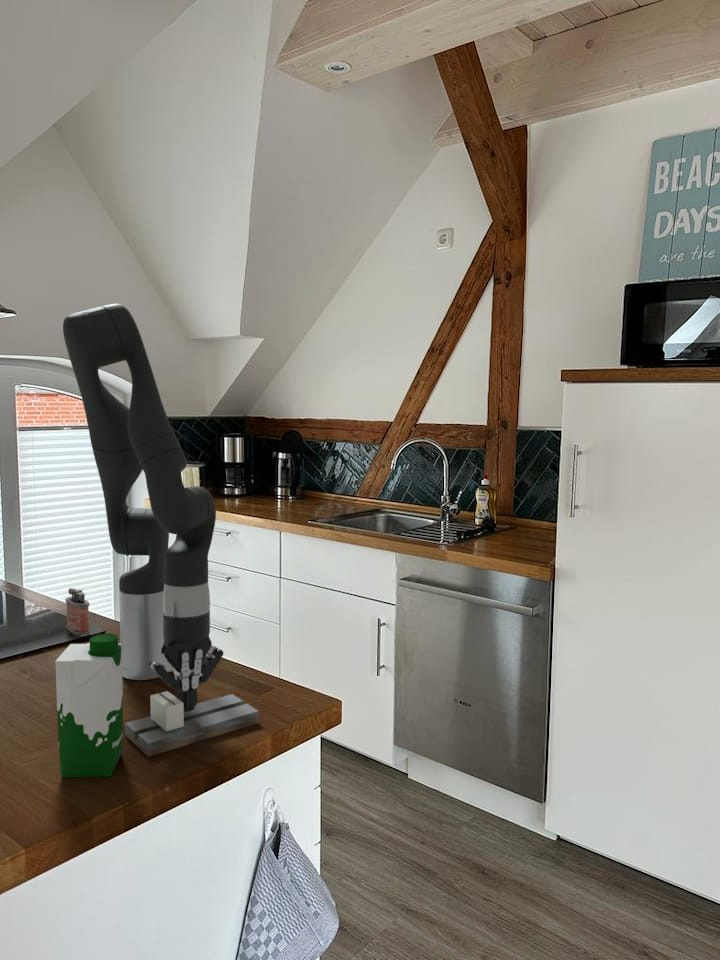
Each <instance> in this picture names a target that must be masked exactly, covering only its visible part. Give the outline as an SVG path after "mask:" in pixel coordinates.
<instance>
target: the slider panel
mask: <svg viewBox="0 0 720 960" xmlns="http://www.w3.org/2000/svg"><path fill="white" fill-rule="evenodd" d="M259 712H260V711H259V710H258V709H257V708H255V707H253V706H252V705H250V704H249V703H244V700H242V699H241V698H240V697H237V696H236V695H235V694H233V693H231V694H227V695H224V696H220V697H217V698H212V699H209V700H204V701H201V702H197V704H196V706H194V710H191V711H187V712H185V711H184V727H180V728H177V729H173V730H170V731H165V730H164V729H163V728H162V727H160V726H159V725H158V724H157V723H156V722H154V721H153V720H152V719H151V715H149V716H146V717H142V718H138V719H134V720H131V721H128V722H125V723H124V728H125V729H124V730H125V731H124V732H125V733H124V734H125V737H126V738H127V739H128V740H129V739H130V742H132V743H133V744H134V745H135V746H136V747H137V748H138V749H139V750H140V751H141V752H142V753H143V754H144V755H145V756H146V757H148V758H149V757H152V756H155V755H159V754H162V753H165V752H168V751H172V750H176V749H178V748H182V747H184V746H189V745H191V743H192V744H194V742H195V743H197V742H200V741H201V740H202V741H204V739H205V740H208V739H211V738H214V737H218V736H221V735H224V734H228V733H231V732H234V731H237V730H241V729H244V728H247V727H250V726H253V725H256V724H260V723H259V722H260V721H259V716H260V715H259ZM207 738H208V739H207Z"/></svg>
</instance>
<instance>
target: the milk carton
mask: <svg viewBox="0 0 720 960" xmlns="http://www.w3.org/2000/svg"><path fill="white" fill-rule="evenodd" d="M54 662H55V663H54V664H55V684H56V688H55V690H56V715H57V716H56V720H57V721H56V723H57V744H58V746H57V747H58V753H59V754H58V755H59V765H60V766H59V767H60V773H61V777H60V778H65V779H67V778H101V777H102V778H103V777H104V778H105V777H107V778H108V777H112V775H113V773H114V770H115V768H116V766H117V764H118V762H119V760H120V758H121V755H122V753H123V752H122V751H123V750H122V749H123V738H124V737H123V736H124V695H123V687H124V686H123V676H122V643H120V642H119V637H118V635H117V634H113V633H101V634H96V635H95V634H94V635H93V636H91V637H90V638H89V642H86V643H70V644H69V645H68V646H67V647H66V649H65V650H64V651H63V652H62V653H61V654H60V655H59V657H57V658H56V660H55V661H54Z"/></svg>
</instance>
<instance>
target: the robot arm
mask: <svg viewBox="0 0 720 960" xmlns="http://www.w3.org/2000/svg"><path fill="white" fill-rule="evenodd" d="M62 332H63V338H64V343H65V347H66V349H67V354H68V357H69V361H70V363H71V366H72V370H73V373H74V377H75V379H76V382H77V386H78V389H79V393H80V397H81V399H82V404H83V407H84V408H83V409H84V414H85V418H86V422H87V429H88V433H89V439H90V443H91V449H92V453H93V456H94V461H95V465H96V467H97V472H98V475H99V479H100V483H101V488H102V494H103V498H104V506H105V512H106V521H107V522H106V523H107V527H108V528H107V529H108V535H109V541H110V544H111V546H112V549H113V550H114V552H115V553H116V554H118V555H123V556H147V557H148V560H147V561H148V562H147V563H145V564H144V565H142V566H141V567H139V568H135V569H132V570H129V571H126V572H124V573H123V574H122V575H120V577H119V581H118V589H119V591H118V592H119V635H120V636H119V638H120V639H119V640H120V641H119V643H122V678H124V679H127V680H132V681H145V680H146V681H147V680H154V679H157V678H159V679H161V680H162V682H163V683H164V684H165V685H166V686H168V687H170V688H171V689H172V690H174V691H177V699H179V700H180V701H182V702H183V703H184V711H185V712H187V711H191V710H194V706H196V704H197V703H198V688H199V685H201V684H202V683H206V682H208V680H209V679H210V677H211V675H212V674H213V672H214V670H215V669H216V667H217V666H218V664H219V662H220V661H221V659H222V657H223V656H224V651H223V650H222V649H220V648H219V647H217V646H215V645H212V643H213V642H212V640H211V638H210V633H211V595H210V588H209V587H210V586H209V585H210V584H209V558H208V556H209V552H210V548H211V544H212V540H213V536H214V530H215V525H216V519H217V515H216V513H217V508H216V504H215V501H214V498H213V495H212V494H211V493H210V491H208V489H206V488H204V487H202V486H198V485H191V486H187V487H185V486H184V482H183V479H182V475H181V473H182V472H183V471H184V470H185V469H186V467H187V465H188V462H187V458H186V456H185V453H184V451H183V449H182V447H181V445H180V443H179V442H180V441H179V440H178V437H177V436H176V434H175V431H174V429H173V427H172V425H171V423H170V420H169V417H168V416H167V412H166V410H165V407H164V404H163V402H162V398H161V395H160V392H159V389H158V385H157V383H156V379H155V376H154V372H153V369H152V366H151V363H150V360H149V357H148V353H147V350H146V348H145V344H144V342H143V339H142V335H141V333H140V330H139V328H138V325H137V323H136V321H135V319H134V317H133V315H132V313H131V312H130V311H129V309H128V308H127V307H126V306H125V305H123V304H121V303H112V304H111V303H110V304H107V305H103V306H102V305H101V306H98V307H94V308H90V309H86V310H83V311H78V312H74V313H72V314H68V315H67V316H66V317H65V318H64V320H63V323H62ZM123 361H124V362H126V364H127V366H128V370H129V372H130V376H131V396H130V401H129V402H130V404H129V407H128V406H127V405H125V404H124V403H123V402H121V401H120V400H119V399H118V398H116V396H114V395H113V394H112V393H111V392H110V391H109V389H108V388H107V387H106V386H105V385H104V384H103V382H102V380H101V379H100V374H99V369H100V368H103V367H107V366H110V365H113V364H117V363H120V362H123ZM142 472H143V473H144V475H145V476H144V477H145V482H146V489H147V493H148V498H149V503H150V508H142V507H141V508H135V507H134V508H133V507H131V508H130V507H129V506H128V503H127V498H128V495H129V493H130V491H131V489H132V488H133V486H134V484H135V483H136V482H137V480H138V478H139V477H140V475H141V473H142ZM170 534H171V535H176V537H175V539H174V541H173V543H172V544H171V546H169V541H170V540H169V539H170ZM170 672H173V673H174V677H173V676H172V675H171V674H170Z"/></svg>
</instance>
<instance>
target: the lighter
mask: <svg viewBox="0 0 720 960" xmlns="http://www.w3.org/2000/svg"><path fill="white" fill-rule="evenodd" d="M68 595H70V596H67V597H66V598H65V603H66V626H65V627H66V628H67V629H68V630H69V631H70V632H73V633H76V634H79V635H85V634H88V633H90V634H91V630H90V621H89V620H90V619H89V618H90V617H89V616H90V614H89V612H90V611H89V607H90V602H89V601H88V600H86V597H85V596H86V595H85V592H83V590H82V589H76V588H74V587H69V589H68ZM66 628H65V629H66ZM70 632H69V633H70Z"/></svg>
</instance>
